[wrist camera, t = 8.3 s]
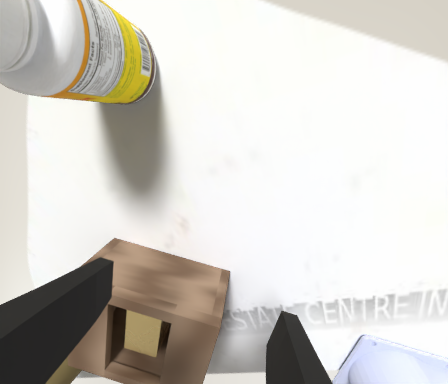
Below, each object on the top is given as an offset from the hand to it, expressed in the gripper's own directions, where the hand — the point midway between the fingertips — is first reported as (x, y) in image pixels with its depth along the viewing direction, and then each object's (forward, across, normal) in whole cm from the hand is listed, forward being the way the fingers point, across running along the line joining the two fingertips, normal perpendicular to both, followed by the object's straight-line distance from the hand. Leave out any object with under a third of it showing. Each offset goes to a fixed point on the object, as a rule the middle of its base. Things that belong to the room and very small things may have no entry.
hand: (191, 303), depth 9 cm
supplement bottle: (+11, +10, -9) cm, 17 cm away
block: (+10, +4, +11) cm, 16 cm away
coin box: (+10, +4, +12) cm, 16 cm away
